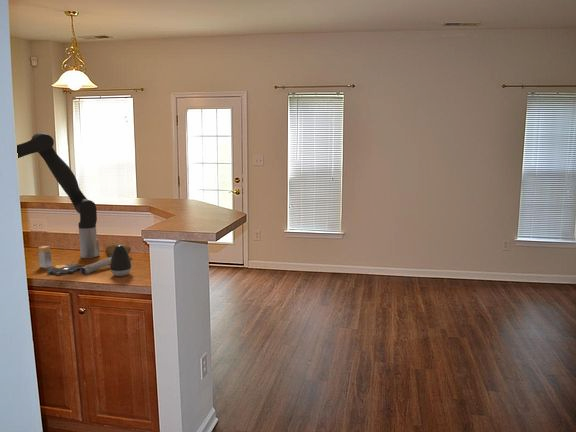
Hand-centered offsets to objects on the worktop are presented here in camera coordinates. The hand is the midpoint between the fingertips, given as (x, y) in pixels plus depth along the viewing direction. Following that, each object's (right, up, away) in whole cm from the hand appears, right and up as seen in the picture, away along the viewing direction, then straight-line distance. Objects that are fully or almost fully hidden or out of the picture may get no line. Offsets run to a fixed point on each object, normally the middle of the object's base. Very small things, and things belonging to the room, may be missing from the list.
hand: (9, 225), depth 244 cm
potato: (+46, -20, +28) cm, 57 cm away
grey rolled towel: (+45, -23, +9) cm, 51 cm away
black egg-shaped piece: (+58, -25, -2) cm, 63 cm away
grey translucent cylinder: (+12, -22, +12) cm, 28 cm away
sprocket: (+26, -24, +5) cm, 35 cm away
